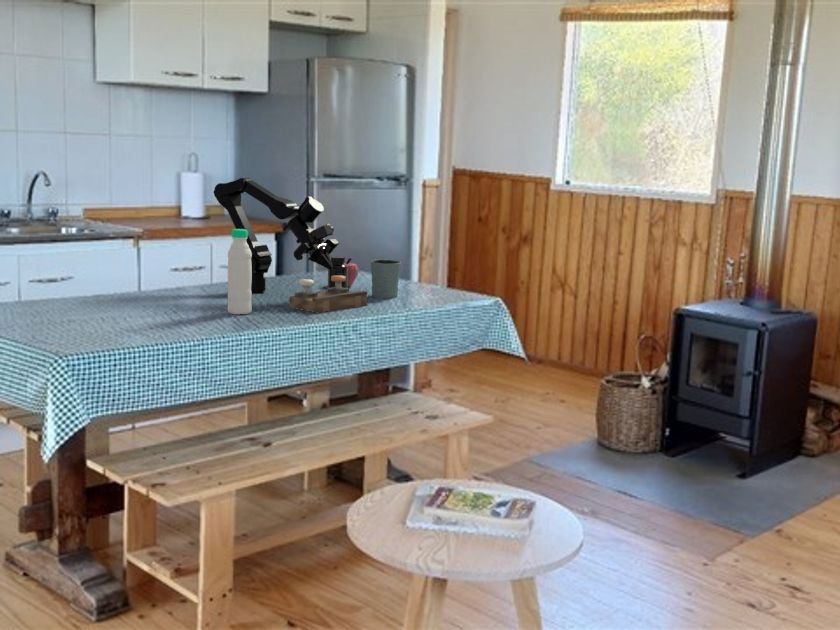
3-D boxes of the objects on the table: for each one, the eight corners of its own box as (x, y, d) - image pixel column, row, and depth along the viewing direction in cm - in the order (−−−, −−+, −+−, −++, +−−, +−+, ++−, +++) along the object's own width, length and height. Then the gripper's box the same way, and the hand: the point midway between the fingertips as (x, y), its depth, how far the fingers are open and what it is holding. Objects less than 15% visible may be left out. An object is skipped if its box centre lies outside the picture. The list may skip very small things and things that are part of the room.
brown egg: (330, 295, 314) (331, 277, 312) (331, 292, 318) (331, 275, 317) (345, 295, 314) (345, 277, 313) (345, 293, 318) (345, 275, 317)
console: (289, 307, 305) (289, 292, 304) (339, 300, 322) (340, 285, 321) (316, 313, 297) (316, 298, 296) (366, 305, 314) (367, 290, 313)
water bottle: (231, 315, 289) (231, 230, 285) (224, 311, 295) (224, 228, 291) (254, 314, 292) (255, 230, 288) (247, 310, 299) (247, 228, 294)
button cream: (298, 299, 303) (298, 281, 302) (299, 297, 308) (299, 279, 306) (313, 300, 303) (313, 281, 302) (313, 297, 308) (314, 279, 307)
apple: (333, 284, 355) (334, 256, 353) (357, 284, 356) (358, 257, 354) (334, 288, 345) (334, 260, 343) (358, 288, 346) (359, 260, 344)
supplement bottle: (348, 290, 341) (349, 256, 339) (345, 293, 335) (346, 258, 333) (329, 289, 342) (330, 255, 340) (325, 292, 335) (326, 257, 333)
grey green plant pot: (394, 293, 338) (395, 259, 336) (403, 298, 329) (404, 263, 327) (366, 294, 335) (367, 259, 333) (374, 299, 326) (375, 263, 323)
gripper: (301, 217, 307) (330, 255, 304) (334, 214, 323) (362, 249, 320) (280, 240, 312) (309, 278, 309) (314, 236, 328) (341, 271, 325)
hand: (331, 268), depth 316 cm, fingers closed
